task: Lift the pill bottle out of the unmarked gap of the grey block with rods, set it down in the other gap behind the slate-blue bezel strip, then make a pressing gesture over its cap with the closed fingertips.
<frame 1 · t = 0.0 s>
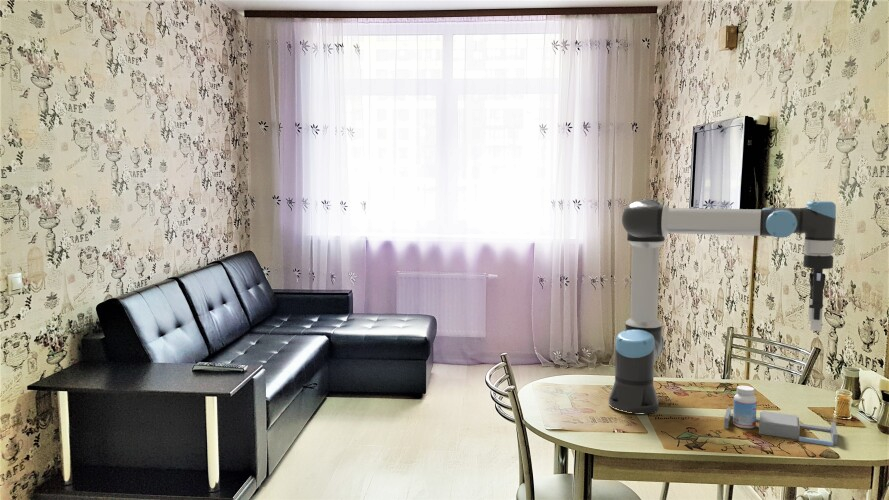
hand: (814, 325, 194), 28 cm above the table, fingers open, 13 cm apart
pill bottle: (744, 426, 191), on the table
grey block with rods: (778, 430, 187), on the table
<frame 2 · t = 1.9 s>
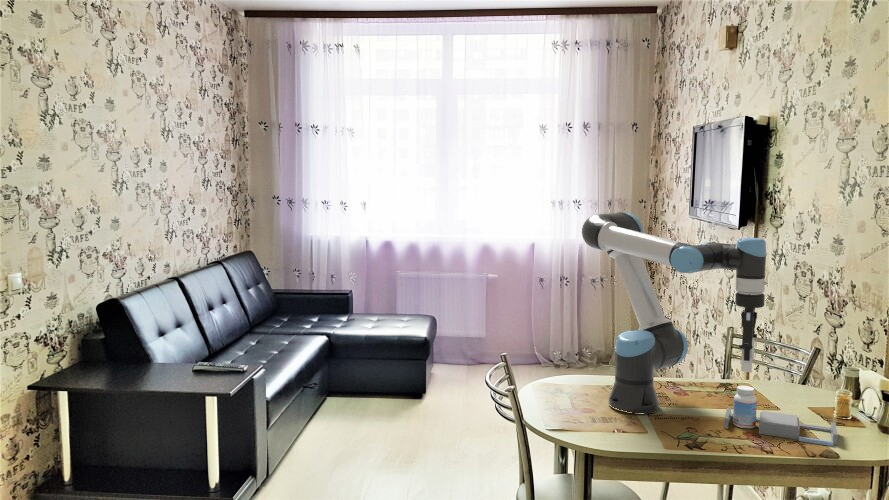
hand: (747, 365, 189), 18 cm above the table, fingers open, 13 cm apart
nothing on the table moved.
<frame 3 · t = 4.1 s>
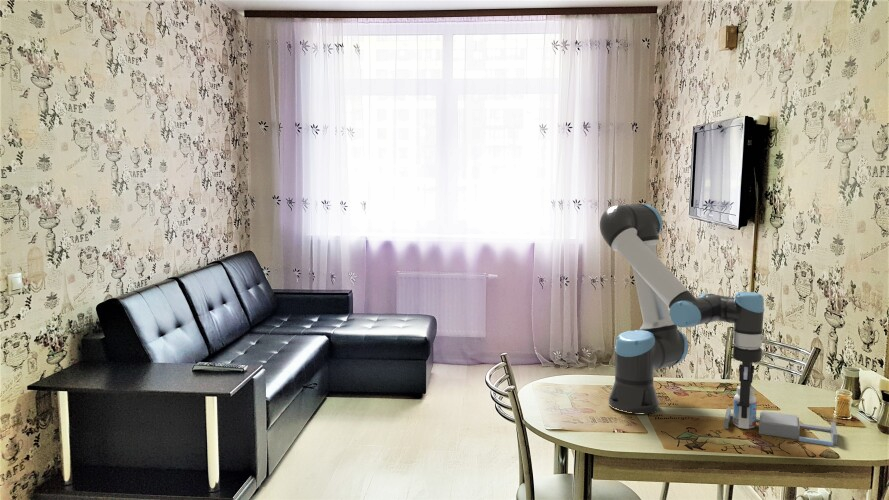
hand: (744, 423, 191), 0 cm above the table, fingers closed on pill bottle, 6 cm apart
pill bottle: (744, 425, 191), on the table, touching gripper
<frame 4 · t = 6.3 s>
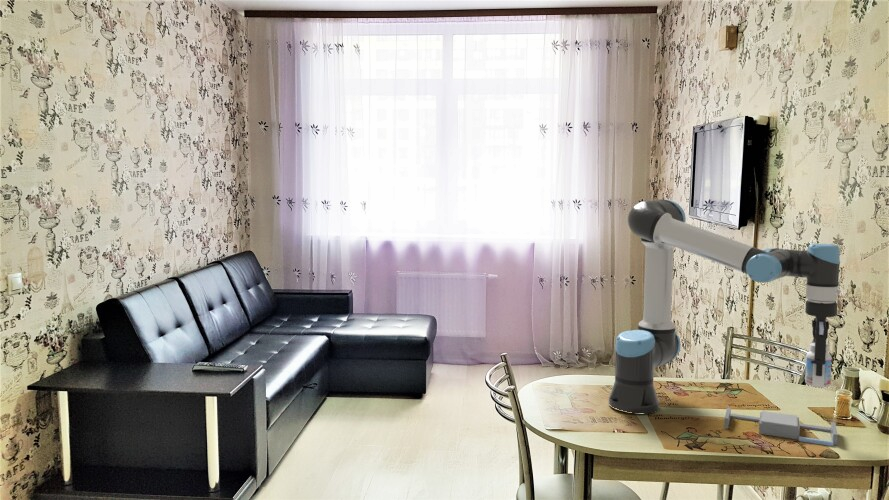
hand: (817, 383, 181), 15 cm above the table, fingers closed on pill bottle, 6 cm apart
pill bottle: (817, 385, 182), point 15 cm above the table, touching gripper
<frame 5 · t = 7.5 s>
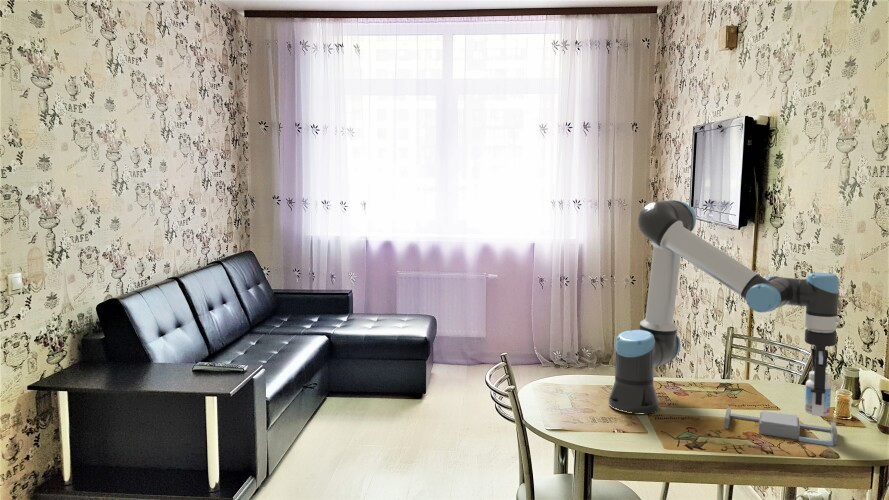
hand: (817, 411, 182), 7 cm above the table, fingers closed on pill bottle, 6 cm apart
pill bottle: (817, 413, 182), point 7 cm above the table, touching gripper
when the fingers open (2 cm above the table, at t = 8.5 s): pill bottle drops 2 cm, on the table.
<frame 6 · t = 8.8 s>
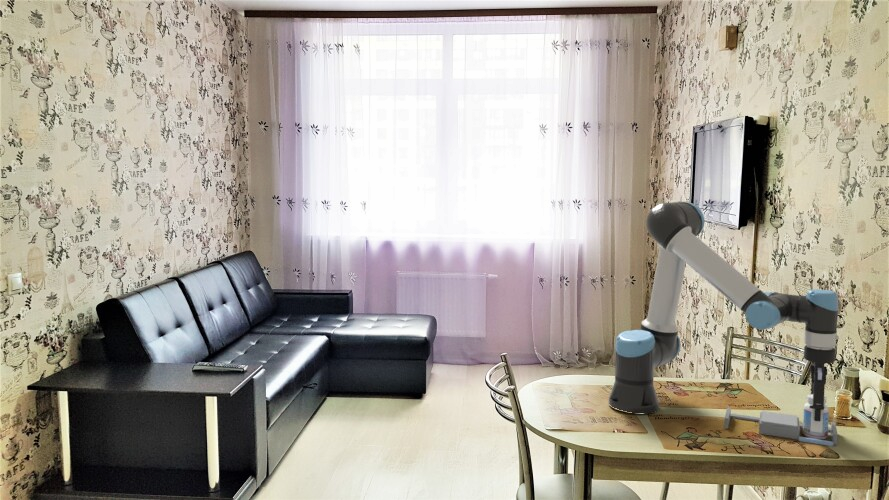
hand: (815, 425, 183), 3 cm above the table, fingers open, 9 cm apart
pill bottle: (814, 436, 183), on the table
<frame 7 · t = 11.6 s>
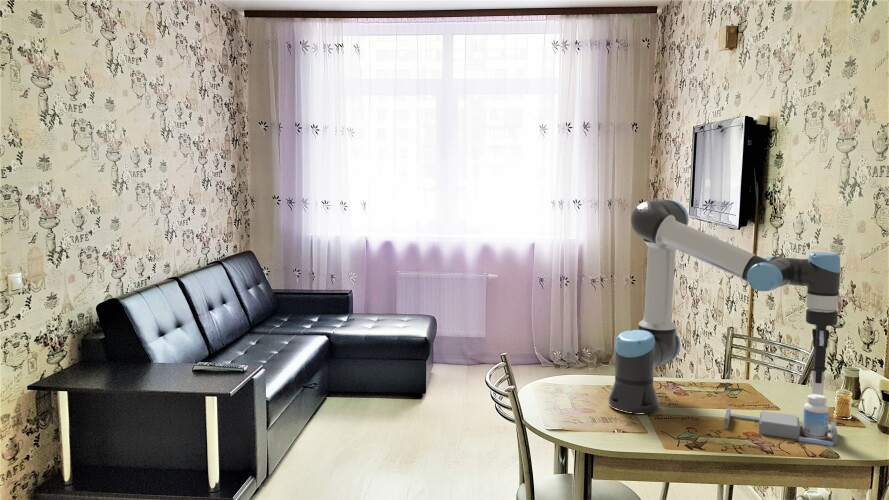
hand: (817, 393, 182), 12 cm above the table, fingers closed
nothing on the table moved.
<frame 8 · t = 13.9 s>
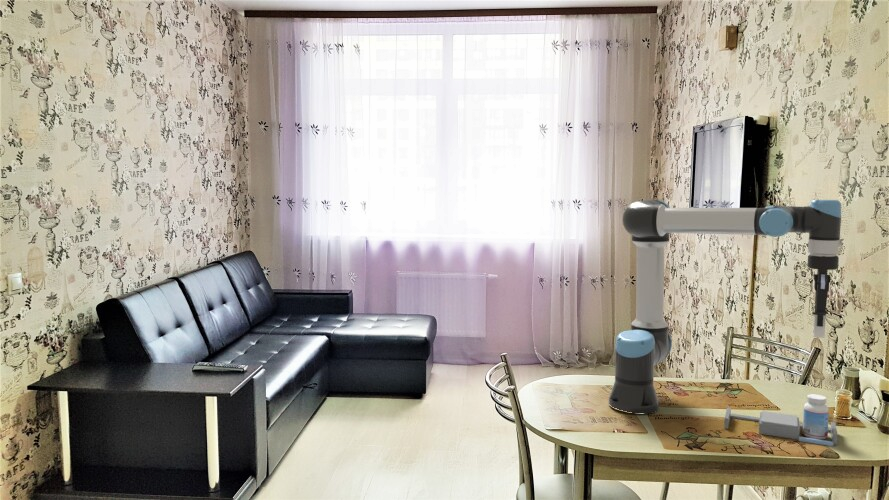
hand: (818, 336, 187), 26 cm above the table, fingers closed
nothing on the table moved.
at the end: pill bottle inside the target area on the grey block with rods (0.5 cm from its centre), point 0.0 cm above the grey block with rods's base; pill bottle tilted 0°; the gripper is holding nothing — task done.
